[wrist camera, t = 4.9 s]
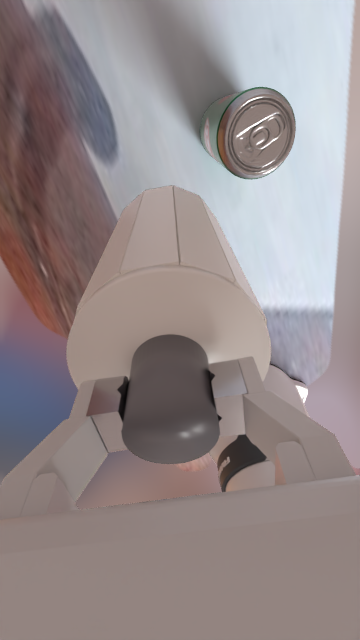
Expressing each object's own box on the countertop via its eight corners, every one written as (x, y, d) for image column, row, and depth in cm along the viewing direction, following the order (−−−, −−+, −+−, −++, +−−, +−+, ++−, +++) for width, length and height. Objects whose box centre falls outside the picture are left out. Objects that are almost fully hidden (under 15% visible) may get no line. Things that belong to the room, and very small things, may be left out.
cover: (221, 276, 25) (296, 488, 11) (132, 291, 25) (87, 513, 11) (212, 177, 21) (310, 304, 7) (105, 197, 21) (-18, 355, 7)
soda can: (188, 123, 28) (202, 126, 18) (236, 82, 27) (279, 62, 17) (218, 171, 31) (244, 198, 21) (263, 136, 29) (315, 147, 19)
